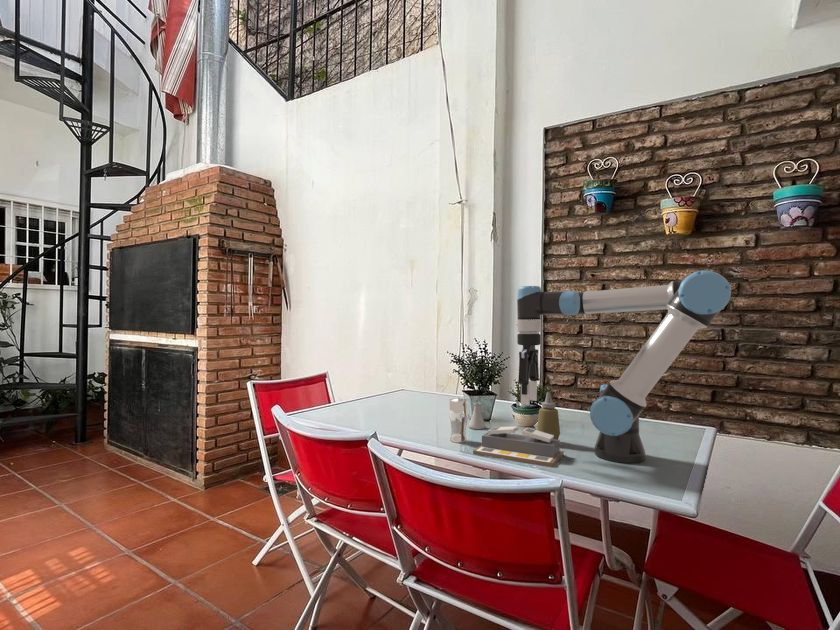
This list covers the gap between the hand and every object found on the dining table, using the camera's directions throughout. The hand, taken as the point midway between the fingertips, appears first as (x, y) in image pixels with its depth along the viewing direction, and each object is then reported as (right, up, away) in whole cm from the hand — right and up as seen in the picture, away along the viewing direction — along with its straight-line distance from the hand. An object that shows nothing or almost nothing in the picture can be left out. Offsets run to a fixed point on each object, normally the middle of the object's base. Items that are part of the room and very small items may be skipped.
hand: (529, 402), depth 151 cm
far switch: (-8, -10, +5) cm, 14 cm away
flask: (-13, -17, +36) cm, 42 cm away
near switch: (+3, -10, -1) cm, 11 cm away
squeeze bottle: (+10, -17, +14) cm, 24 cm away
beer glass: (-22, -17, +16) cm, 32 cm away
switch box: (-4, -17, 0) cm, 18 cm away
